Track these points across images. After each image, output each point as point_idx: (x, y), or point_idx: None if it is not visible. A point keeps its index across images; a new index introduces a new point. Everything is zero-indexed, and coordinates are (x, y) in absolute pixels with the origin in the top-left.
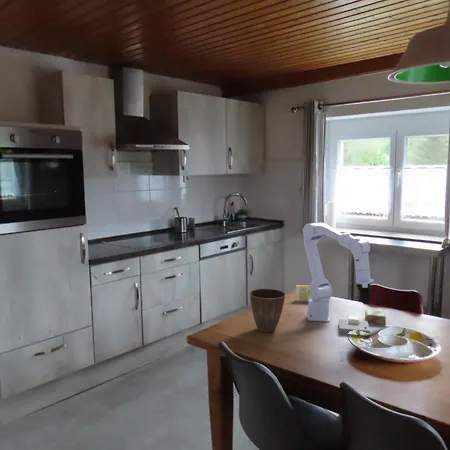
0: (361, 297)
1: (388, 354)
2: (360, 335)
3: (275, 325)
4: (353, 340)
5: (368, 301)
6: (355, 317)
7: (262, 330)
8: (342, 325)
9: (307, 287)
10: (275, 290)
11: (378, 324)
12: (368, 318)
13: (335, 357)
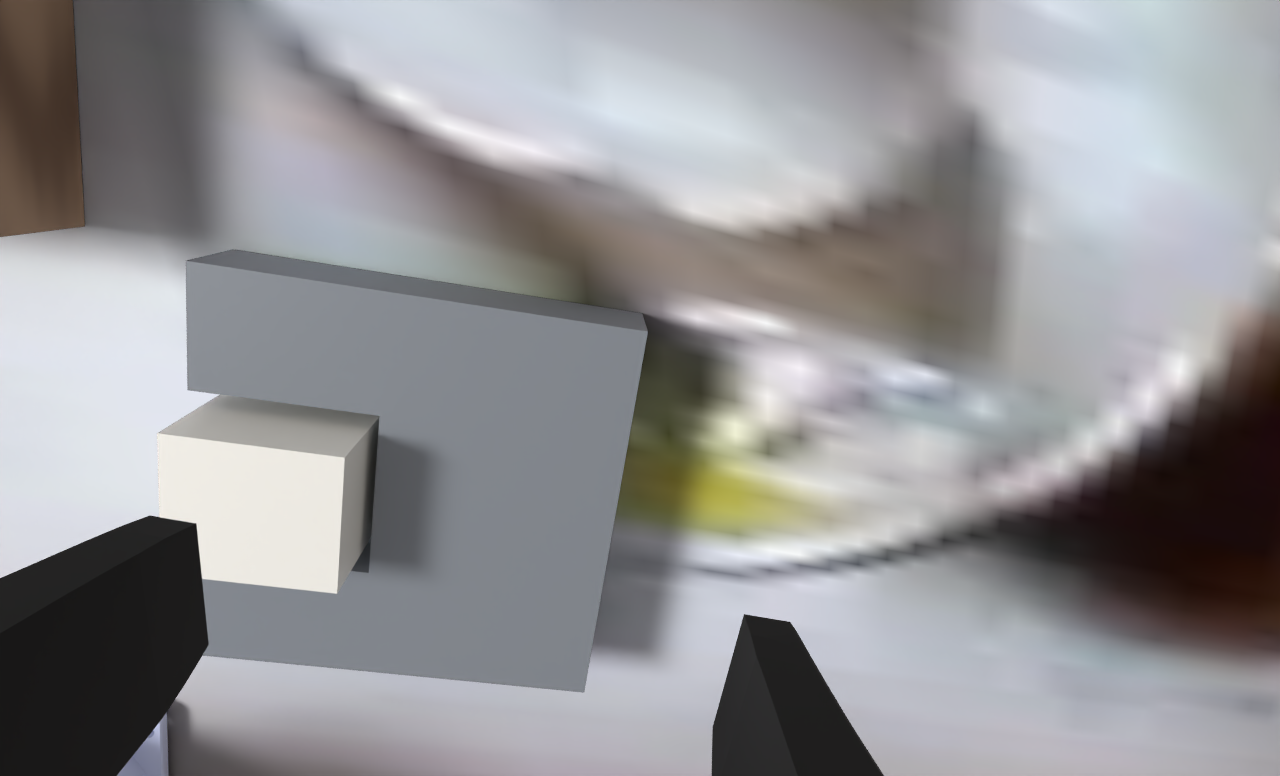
0: (130, 742)
1: (1211, 233)
2: None
3: None
4: (777, 527)
5: (820, 696)
6: (229, 485)
7: None
8: (469, 647)
9: None
10: None
11: (72, 30)
12: (15, 203)
13: (1186, 745)
